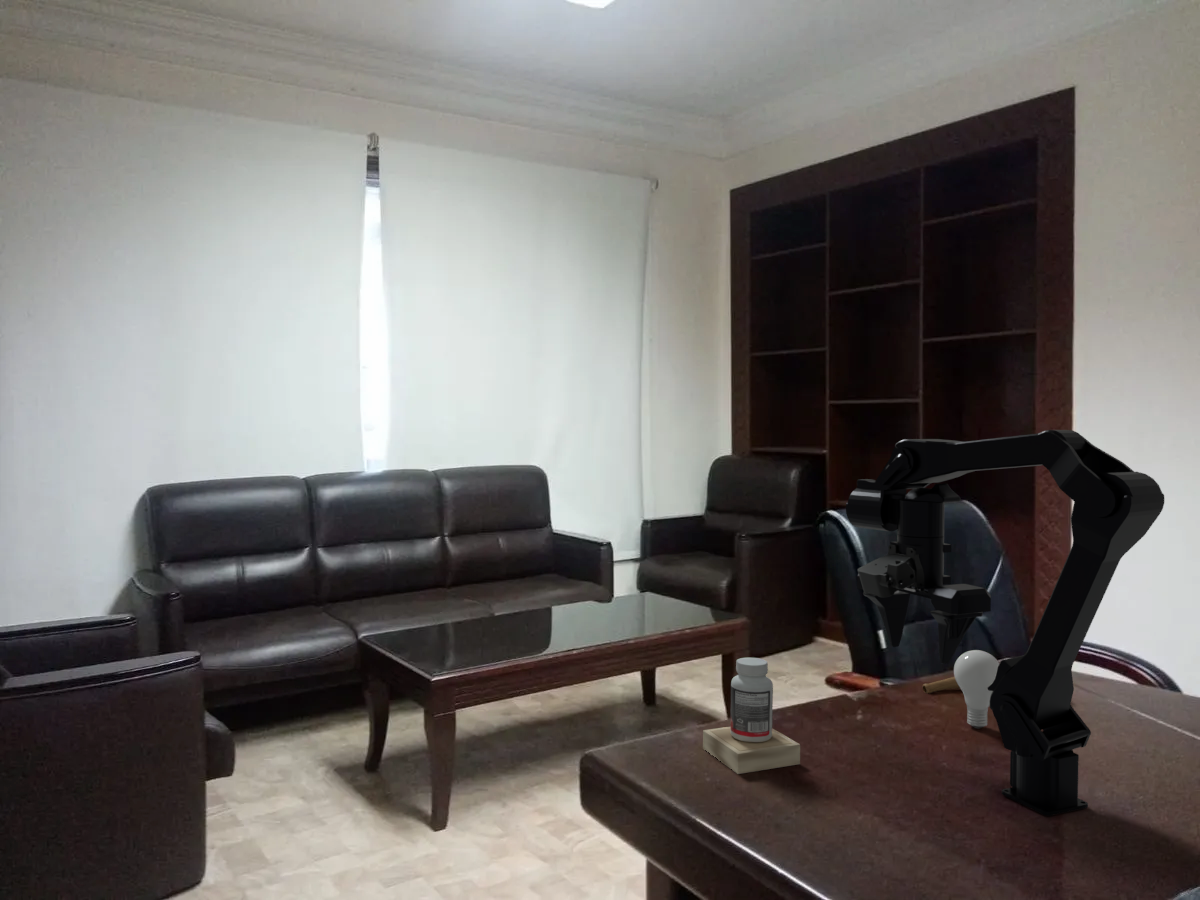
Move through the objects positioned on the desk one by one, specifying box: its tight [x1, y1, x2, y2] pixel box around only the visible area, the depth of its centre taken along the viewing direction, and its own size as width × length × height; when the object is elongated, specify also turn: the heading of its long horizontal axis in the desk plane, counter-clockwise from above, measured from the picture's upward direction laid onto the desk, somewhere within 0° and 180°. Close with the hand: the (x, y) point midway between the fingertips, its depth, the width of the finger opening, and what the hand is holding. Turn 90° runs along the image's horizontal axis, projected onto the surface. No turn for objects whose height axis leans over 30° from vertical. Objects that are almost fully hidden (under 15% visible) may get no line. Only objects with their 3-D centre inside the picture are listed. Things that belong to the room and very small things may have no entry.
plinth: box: [702, 726, 801, 775], centre depth 113 cm, size 9×9×3 cm
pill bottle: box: [729, 657, 774, 742], centre depth 113 cm, size 5×5×10 cm
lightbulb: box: [953, 649, 1000, 729], centre depth 124 cm, size 6×6×11 cm
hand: (918, 654), depth 114 cm, fingers open, 9 cm apart
